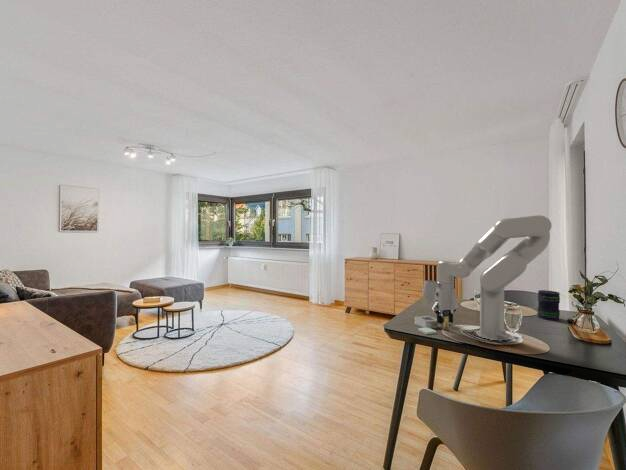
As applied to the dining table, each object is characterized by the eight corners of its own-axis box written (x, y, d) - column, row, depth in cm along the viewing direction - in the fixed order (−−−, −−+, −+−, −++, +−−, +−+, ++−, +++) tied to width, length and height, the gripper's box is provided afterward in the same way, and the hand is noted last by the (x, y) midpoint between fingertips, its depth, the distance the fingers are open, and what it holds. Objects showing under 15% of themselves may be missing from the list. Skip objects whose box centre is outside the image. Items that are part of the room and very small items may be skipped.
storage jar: (541, 319, 167) (542, 293, 167) (534, 315, 177) (534, 289, 177) (563, 321, 165) (563, 294, 164) (554, 316, 174) (555, 290, 174)
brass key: (450, 330, 148) (450, 309, 148) (444, 330, 147) (444, 310, 147) (445, 328, 152) (445, 308, 152) (439, 328, 151) (439, 308, 150)
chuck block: (440, 327, 153) (440, 320, 153) (425, 328, 150) (425, 321, 150) (424, 320, 164) (424, 314, 164) (410, 321, 161) (410, 315, 161)
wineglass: (439, 321, 163) (440, 282, 163) (425, 320, 163) (425, 282, 163) (434, 317, 171) (434, 280, 171) (420, 317, 171) (421, 280, 171)
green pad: (436, 333, 144) (436, 331, 144) (426, 334, 142) (426, 332, 142) (428, 329, 149) (428, 327, 149) (417, 330, 147) (417, 328, 147)
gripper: (436, 288, 143) (435, 326, 143) (465, 286, 148) (464, 323, 148) (425, 285, 150) (425, 322, 150) (453, 284, 155) (453, 319, 156)
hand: (444, 322), depth 149 cm, fingers open, 5 cm apart
